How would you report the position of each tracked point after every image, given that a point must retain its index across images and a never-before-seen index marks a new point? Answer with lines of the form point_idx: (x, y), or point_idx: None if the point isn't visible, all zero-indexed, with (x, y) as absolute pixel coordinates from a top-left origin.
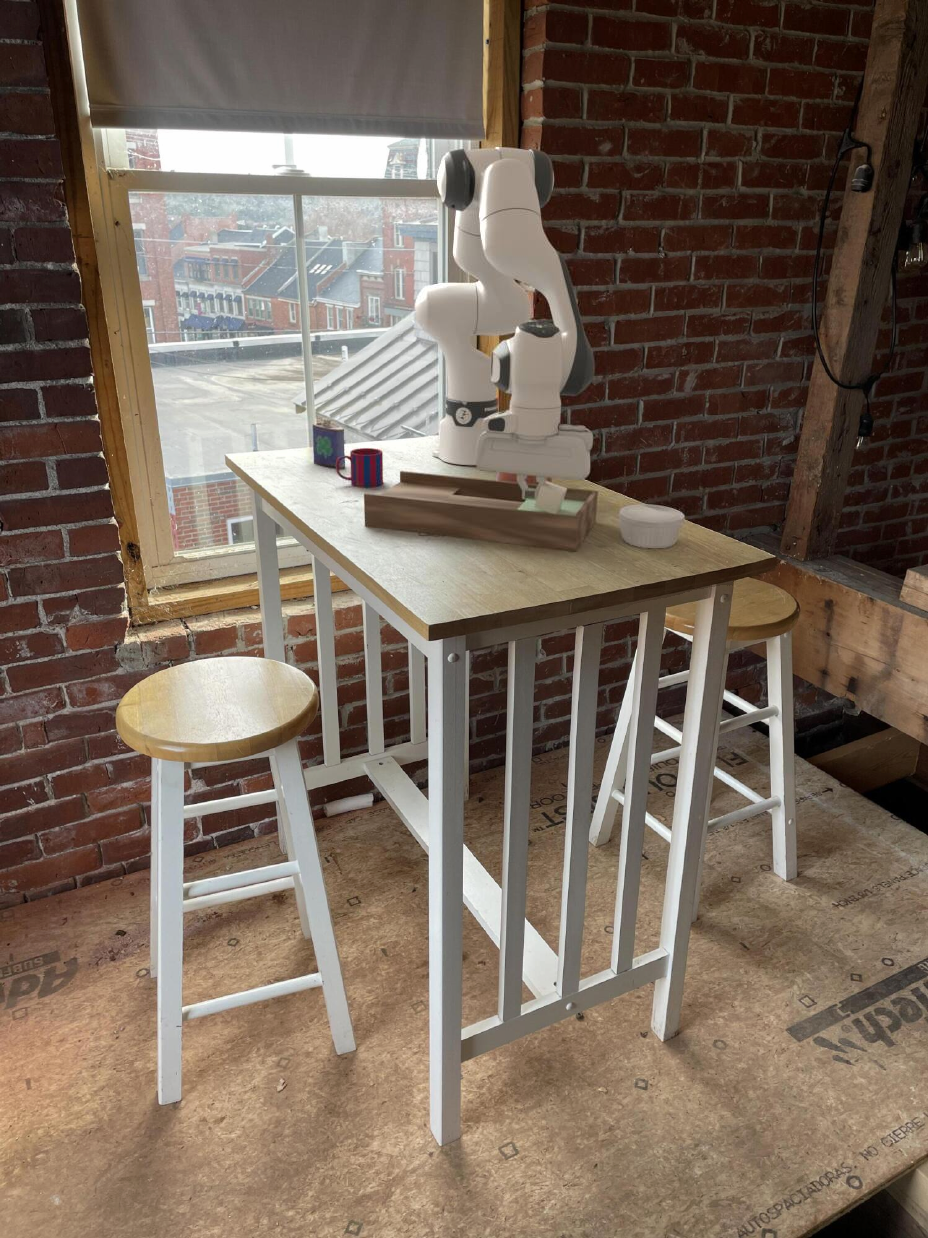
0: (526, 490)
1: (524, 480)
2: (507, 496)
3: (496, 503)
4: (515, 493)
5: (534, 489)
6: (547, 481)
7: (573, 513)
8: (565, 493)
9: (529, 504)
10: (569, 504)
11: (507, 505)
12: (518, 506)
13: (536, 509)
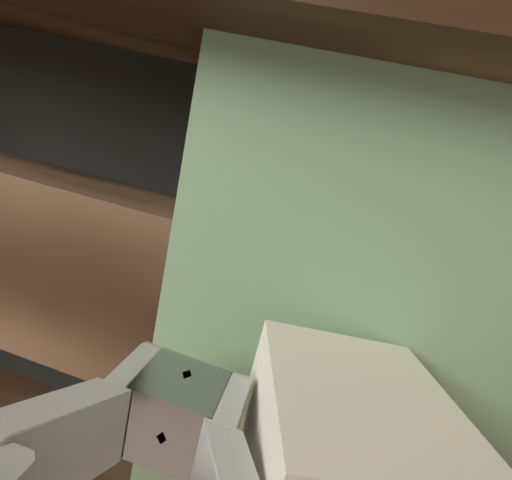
0: (128, 457)
1: (43, 436)
2: (67, 10)
3: (35, 262)
4: (96, 8)
5: (189, 438)
6: (303, 476)
7: (485, 437)
8: (493, 453)
9: (208, 264)
10: (495, 236)
11: (93, 292)
12: (150, 309)
13: (252, 360)
